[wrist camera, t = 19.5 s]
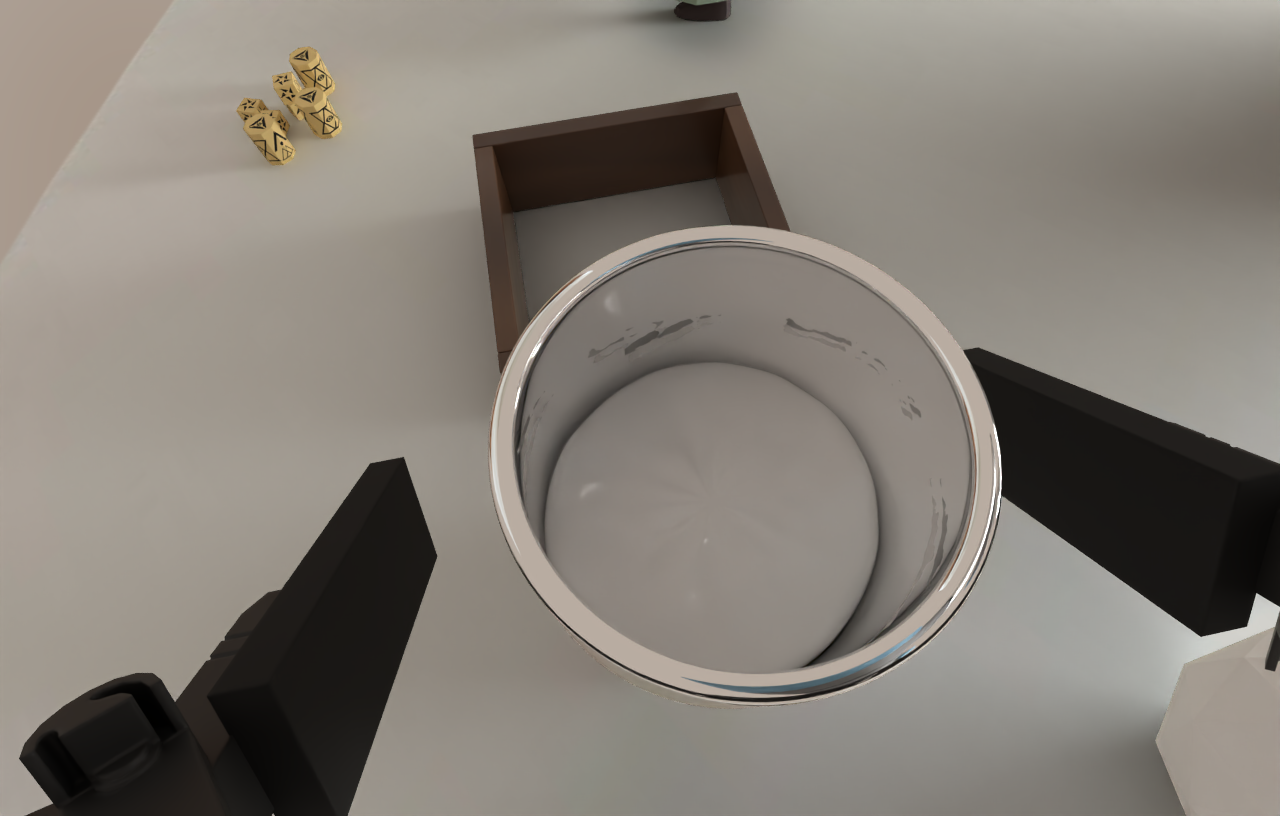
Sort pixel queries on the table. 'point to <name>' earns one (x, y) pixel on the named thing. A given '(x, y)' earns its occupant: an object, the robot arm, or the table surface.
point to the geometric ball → (1225, 732)
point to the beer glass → (744, 467)
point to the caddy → (611, 177)
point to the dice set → (292, 107)
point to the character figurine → (703, 9)
